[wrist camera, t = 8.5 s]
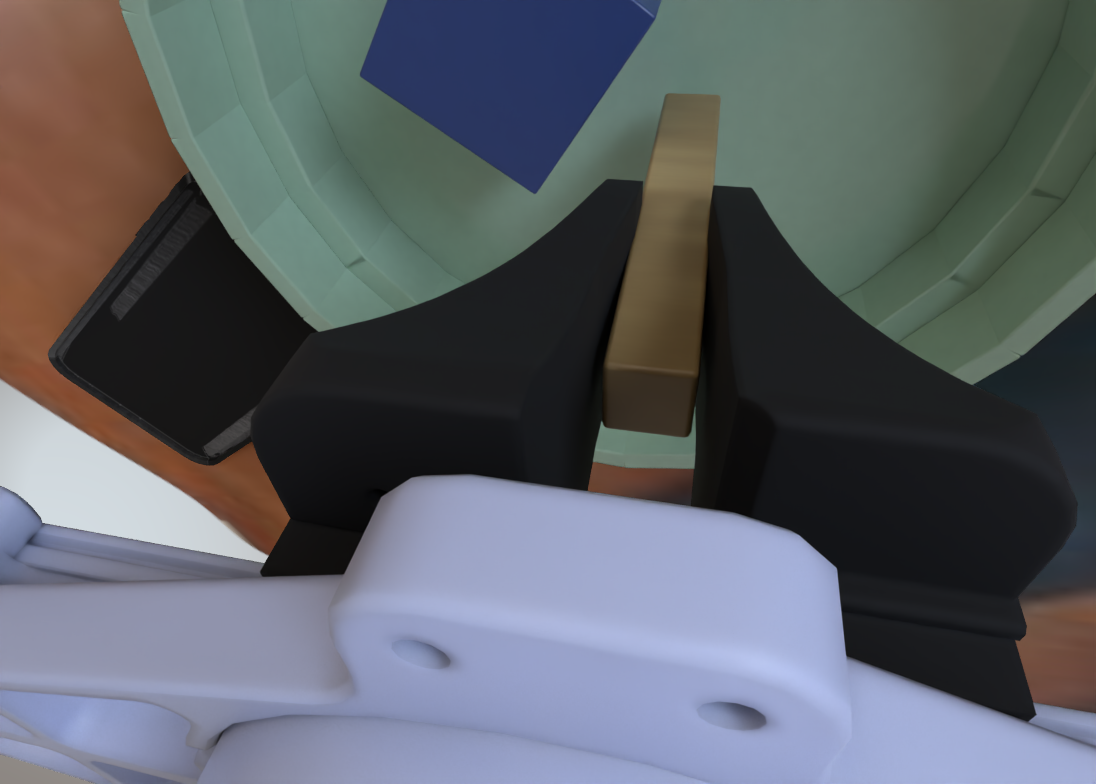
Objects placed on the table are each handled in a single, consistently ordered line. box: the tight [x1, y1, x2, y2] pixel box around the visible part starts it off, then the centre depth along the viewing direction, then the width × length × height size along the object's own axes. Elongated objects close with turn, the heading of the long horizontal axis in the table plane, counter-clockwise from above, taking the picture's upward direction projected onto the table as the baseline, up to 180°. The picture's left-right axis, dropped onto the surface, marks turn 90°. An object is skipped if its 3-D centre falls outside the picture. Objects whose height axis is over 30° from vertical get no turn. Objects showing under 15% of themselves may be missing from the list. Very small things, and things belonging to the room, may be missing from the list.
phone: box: [48, 171, 318, 465], centre depth 25 cm, size 8×1×15 cm
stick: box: [602, 93, 721, 438], centre depth 12 cm, size 1×1×9 cm
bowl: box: [119, 0, 1096, 469], centre depth 14 cm, size 19×19×4 cm
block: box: [360, 0, 662, 194], centre depth 13 cm, size 4×4×4 cm
